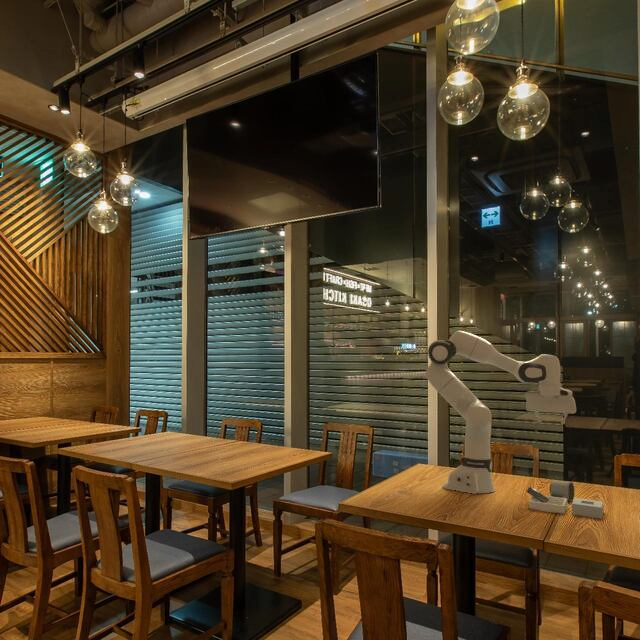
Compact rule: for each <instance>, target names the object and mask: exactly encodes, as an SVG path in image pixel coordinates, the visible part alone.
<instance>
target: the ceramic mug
mask: <svg viewBox="0 0 640 640" xmlns="http://www.w3.org/2000/svg"><path fill="white" fill-rule="evenodd" d="M575 490H576V489H575V485H574V483H573V482H572V481H563V480H553V481H551V482H550V484H549V494H550V496H551V497H559V498H566V499H567V502H573V500H574V498H575V495H576V494H575V492H576V491H575Z"/></svg>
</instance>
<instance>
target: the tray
mask: <svg viewBox="0 0 640 640" xmlns="http://www.w3.org/2000/svg"><path fill="white" fill-rule="evenodd" d="M544 496H545V497H547V498H548V499H549V501H548V502H547V503H542V502H540V501H538V500H537V499H535V498H534V497H533V496H531V497H530V498H529V500H528V509H529V510H532V511H533V510H534V511H541V512H547V513H556V514H561V515H564V514H565V513H566V511H567V508H568V506H569V505H568V501H567V499H566V498H559V497H551V496H549V495H544Z"/></svg>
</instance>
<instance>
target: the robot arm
mask: <svg viewBox="0 0 640 640" xmlns="http://www.w3.org/2000/svg"><path fill="white" fill-rule="evenodd" d="M427 354H428V358H429V359H430V362H431V363H430V365H429V366H428V367H427V368H426V370H425V372H424V373H425V378H426V379H427V380H428V382H429V384H430V385H431V386H432V387H433V388H434V389H435V391H436V392H437V393H438V394H440V396H441V397H442V398H443V399H444V400H445V401H446V402H447V403H448V404H449V405H450V406H451V407H452V408H453V409H454V410H455V411H456V412H457V413H458V415H460V416H461V417H462V418H463V419H464V420H465V431H464V433H465V435H464V455H463V456H461V458H460V459H459V462H460V465H458V466H457V467H456V468H455V469H453V470H452V471H450V472H449V475H448V478H447V481H446V482H444V483H443V484H442V485H443V486H442V488H443V489H445V490H450V491H451V490H452V491H455V490H456V492H462V493H466V492H467V494H471V493H472V495H478V494H489V493H490V492H491V493H493V492H495V490H496V489H495V487H494V482H493V476H492V470H493V462H492V461H493V460H492V458H491V437H492V436H491V435H492V418H493V417H492V412H491V409H490V408H489V407H488V406H487V405H485V404H484V403H483V402H482V401H480V399H479V398H478V397H477V396H475V394H474V393H473V392H472V391H471V390H470V389H469V388H468V387H467V386H466V385H465V384H464V383H463V382H462V380H460V379H459V378H458V377H457V376H456V375H455V374H454V372H452V371H451V369H450V368H449V366H448V363H449V362H450V361H451V360H452V358H454V356H455V355H460V356H462V357H464V358H467V359H468V360H471V361H474V362H475V363H480V364H483V365H484V364H486V365H492V366H495V367H497V368H499V369H501V370H503V371H505V372H508V373H509V374H511V375H512V376H513V377H514V378H515V379H516V380H517V381H518V382H519V383H522V384H533V383H537V382H538V390H528V391H526V392H525V400H526V403H525V410H526V411H527V412H534V416H535V418H536V419H537V423H542V417H540V416H539V413H553V414H554V413H555V414H556V413H557V414H562V415H563V416H564V417H563V418H561V419H560V424H563V425H564V424H565V422H566V419H567V417H568V414H576V412H577V406H576V400H575V398H574V396H573V390H570V389H568V388H564V387H562V383H561V364H560V360H559V358H558V357H557V356H556V355H552V354H546V353H544V354H543V353H542V354H540V355H539V356H537V357H534V358H533V359H531V360H527V361H526V360H525V361H523V360H522V361H521V360H516V359H513V358H511V357H508V356H507V355H505V354H502V353H501V352H499V351H498V350H497V349H496V348H495V346H493V344H492V343H491V342H489V341H487V339H485V338H482V337H480V336H478V335H476V334H473V333H470V332H467V331H462V330H456V331H455V332H453V333H452V334H451V336H450V338H449V339H448V340H443V339H438V340H434V341H433V342H431V343H430V345H429V346H428V349H427ZM477 493H478V494H477Z"/></svg>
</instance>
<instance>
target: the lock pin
mask: <svg viewBox="0 0 640 640" xmlns="http://www.w3.org/2000/svg"><path fill="white" fill-rule="evenodd" d="M526 492H527V494H529V495H530V496H531V497H532V496H533V497H534V498H535V499H537V500H538V501H540V502H542V503H547V502H548V501H549V499H548V498H547V497H545V496H546V495H544V494H542V492H540V491H538V490H537V489H536V488H534V487H533V486H531V485H530V486H529V487H528V488H527V489H526Z"/></svg>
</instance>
